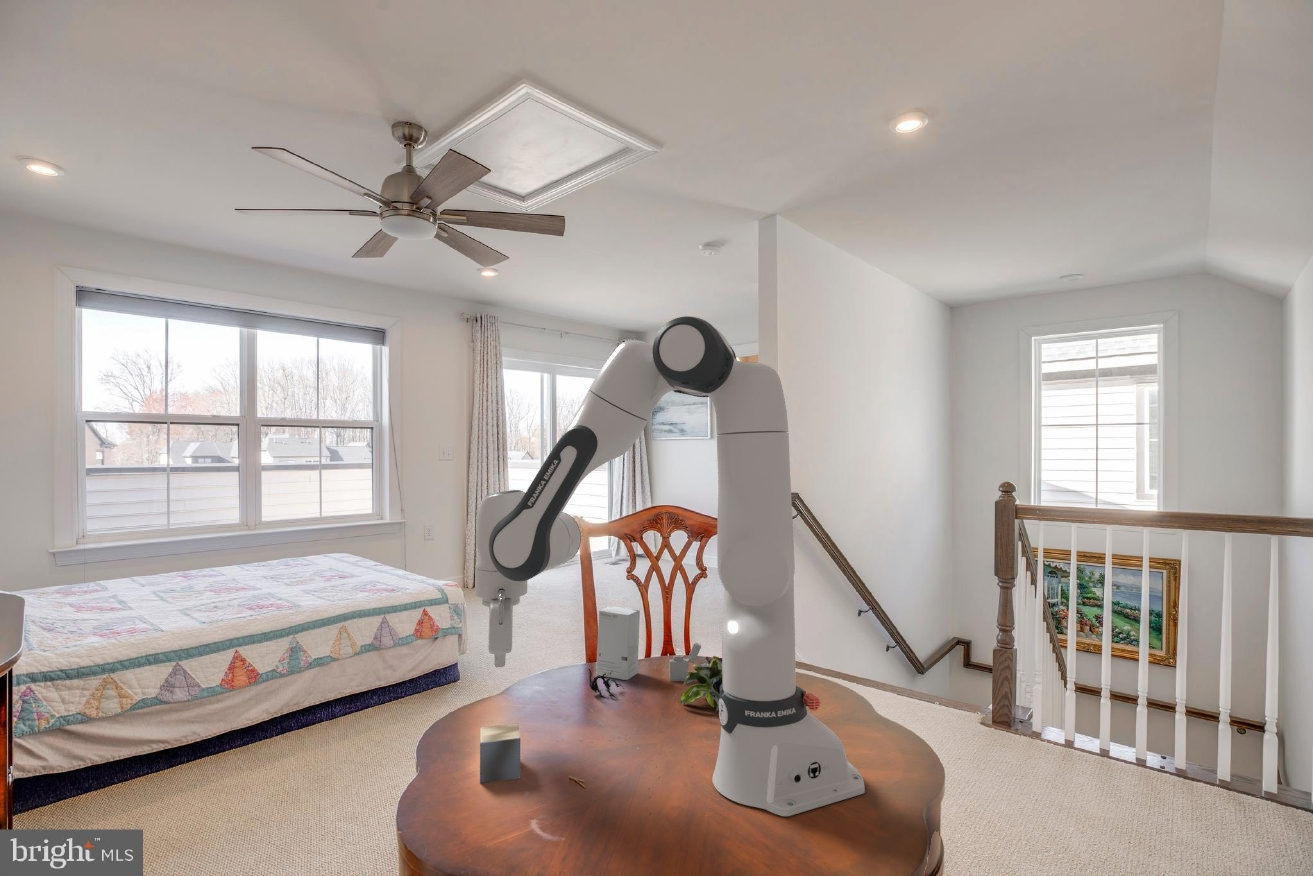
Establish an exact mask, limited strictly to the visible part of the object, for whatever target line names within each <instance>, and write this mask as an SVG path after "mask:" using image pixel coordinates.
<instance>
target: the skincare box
mask: <svg viewBox="0 0 1313 876" xmlns="http://www.w3.org/2000/svg"><path fill="white" fill-rule="evenodd" d="M640 615H641V611H640V610H639V609H636V608H635V609H634V608H629V607H624V606H623V607H622V606H615V605H614V606H611V605H608V606H607V607H604V608H601V609H599V610H598V623H597V624H598V626H597V627H598V628H597V646H596V647H597V648H596V668H595V671H596V673H595V674H596V677H597V676H598V675H600V676H603V674H605V673H606V675H604V677H607V678H609V679H610V678H612V679H618V680H623V681H628V680H630V679H631V678H633V677H634V676H636V675H637V674H638V672H639V671H638V670H639V645H640V643H639V642H640V641H639V640H640V620H641V619H640ZM610 673H611V675H610Z"/></svg>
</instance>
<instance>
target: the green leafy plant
mask: <svg viewBox="0 0 1313 876" xmlns="http://www.w3.org/2000/svg"><path fill="white" fill-rule="evenodd" d="M705 659H706V663H705V662H703V663H702V662H700V664H698V665H697V664H693V666H692V669H693V671H689V670H688V677H686V678H687V679H686V680H685V681H683V686H684V687H685V686H687V684H690V683H693V682H695V681H697V682H696V683H693V684H692V685H690V686H689V687H688V688H686V689H685V691H684V692H683V693H682V695H681V697H680V699H679V703H680V704H682V705H683V706H686V704H687V705H689V704H691V703H693V702H695V701H698V700H699V699H700V698H702V697H704V696H705V698H706V701H707V703H708V705H710V706H711V707H712V708H715V703H716V710H715V711H714V714H715V715H716V714H717V712H718V711H719V699H720V685H721V684H722V657H719V656H717V655H712V657H709V656H705Z"/></svg>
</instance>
